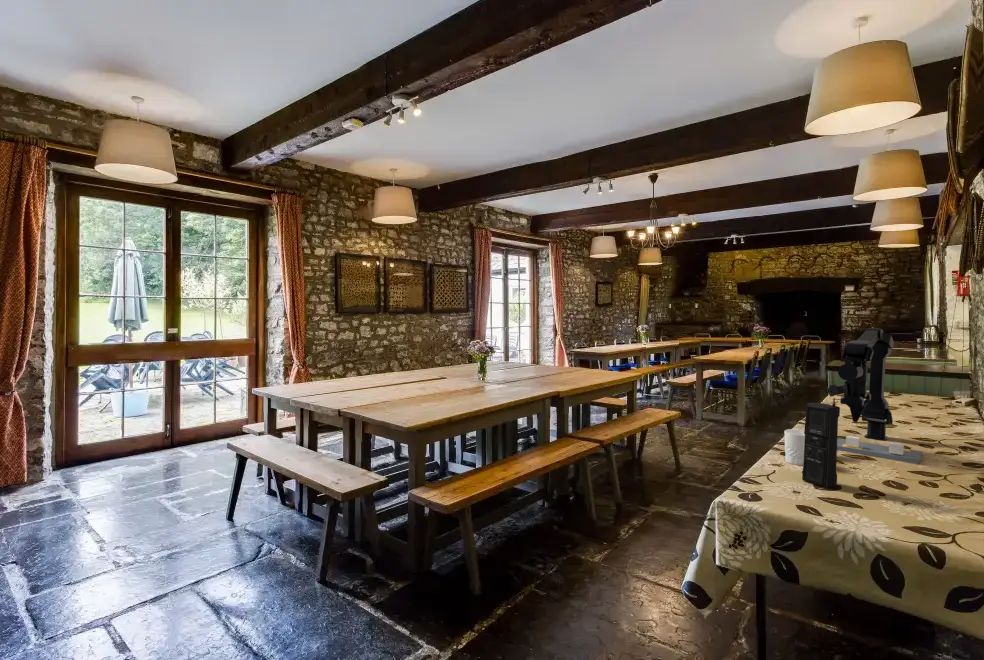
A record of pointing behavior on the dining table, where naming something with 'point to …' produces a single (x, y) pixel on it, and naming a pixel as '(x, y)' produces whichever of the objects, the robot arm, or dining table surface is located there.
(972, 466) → the dining table surface
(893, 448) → the slider
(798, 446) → the white cup
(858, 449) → the switch panel
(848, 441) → the slider
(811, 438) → the portable radio
